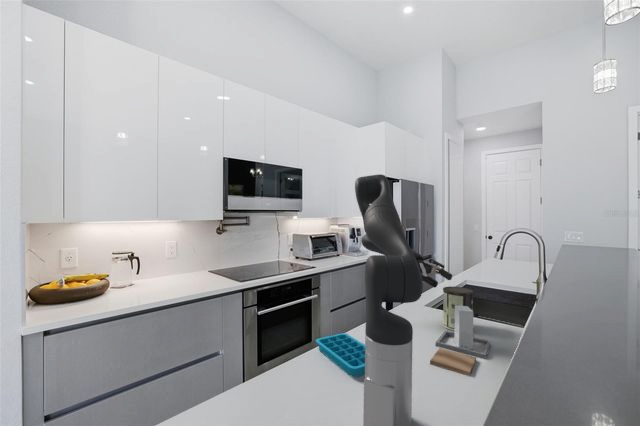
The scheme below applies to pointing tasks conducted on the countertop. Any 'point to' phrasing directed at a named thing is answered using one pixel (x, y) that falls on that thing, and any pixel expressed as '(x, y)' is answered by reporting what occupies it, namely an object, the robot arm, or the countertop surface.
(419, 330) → the countertop surface
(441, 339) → the grey flat rectangular frame
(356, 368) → the ice cube tray
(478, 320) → the countertop surface
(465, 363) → the walnut board
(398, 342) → the robot arm
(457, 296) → the coffee can
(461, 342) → the skincare box
